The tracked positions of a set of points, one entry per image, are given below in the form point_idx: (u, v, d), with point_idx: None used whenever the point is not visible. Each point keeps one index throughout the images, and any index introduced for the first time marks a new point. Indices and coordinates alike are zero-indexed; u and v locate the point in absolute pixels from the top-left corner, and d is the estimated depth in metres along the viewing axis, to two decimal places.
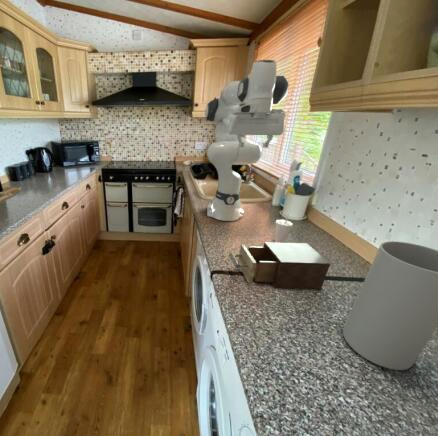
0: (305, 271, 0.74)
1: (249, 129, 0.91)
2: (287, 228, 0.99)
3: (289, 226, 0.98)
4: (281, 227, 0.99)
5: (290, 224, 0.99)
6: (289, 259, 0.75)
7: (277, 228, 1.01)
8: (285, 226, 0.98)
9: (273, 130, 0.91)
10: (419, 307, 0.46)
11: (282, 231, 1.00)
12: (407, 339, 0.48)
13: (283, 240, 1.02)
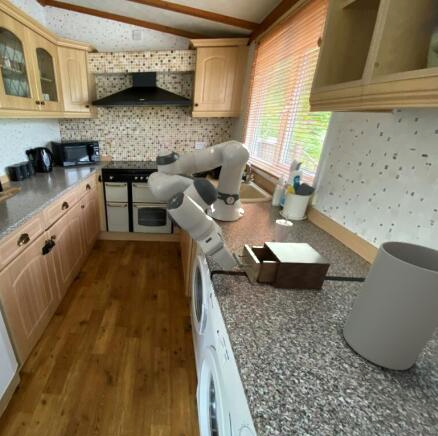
0: (305, 271, 0.74)
1: (228, 249, 0.76)
2: (287, 228, 0.99)
3: (289, 226, 0.98)
4: (281, 227, 0.99)
5: (290, 224, 0.99)
6: (289, 259, 0.75)
7: (277, 228, 1.01)
8: (285, 226, 0.98)
9: None
10: (419, 307, 0.46)
11: (282, 231, 1.00)
12: (407, 339, 0.48)
13: (283, 240, 1.02)
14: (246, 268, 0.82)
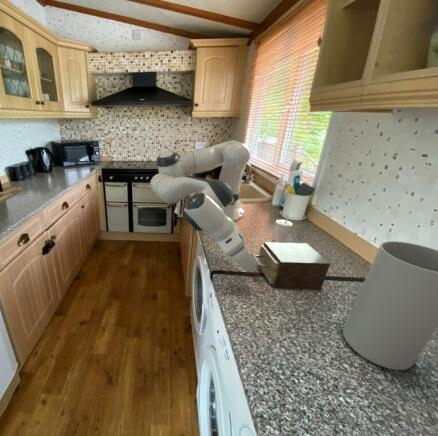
0: (305, 271, 0.74)
1: None
2: (287, 228, 0.99)
3: (289, 226, 0.98)
4: (281, 227, 0.99)
5: (290, 224, 0.99)
6: (289, 259, 0.75)
7: (277, 228, 1.01)
8: (285, 226, 0.98)
9: None
10: (419, 307, 0.46)
11: (282, 231, 1.00)
12: (407, 339, 0.48)
13: (283, 240, 1.02)
14: (263, 269, 0.82)
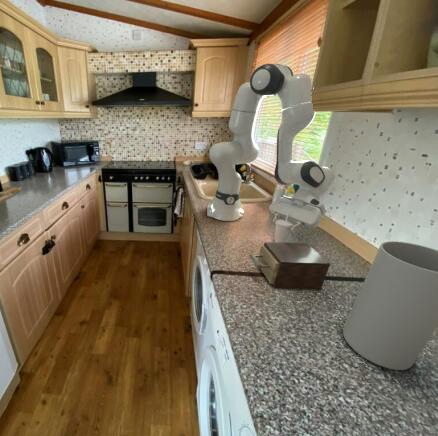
0: (305, 271, 0.74)
1: None
2: (287, 228, 0.99)
3: (289, 226, 0.98)
4: (281, 227, 0.99)
5: (290, 224, 0.99)
6: (289, 259, 0.75)
7: (277, 228, 1.01)
8: (285, 226, 0.98)
9: None
10: (419, 307, 0.46)
11: (282, 231, 1.00)
12: (407, 339, 0.48)
13: (283, 240, 1.02)
14: (263, 269, 0.82)
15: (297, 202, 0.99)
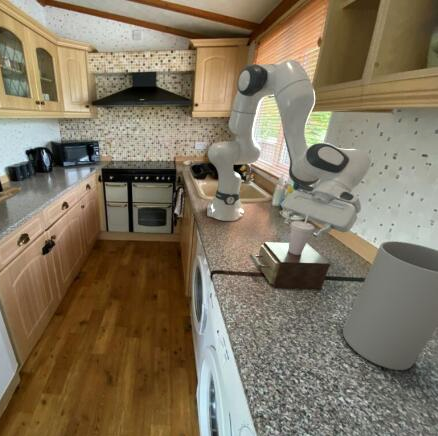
0: (305, 271, 0.74)
1: None
2: (307, 233, 0.73)
3: (310, 230, 0.73)
4: (299, 231, 0.74)
5: (311, 227, 0.73)
6: (289, 259, 0.75)
7: (293, 232, 0.76)
8: (304, 230, 0.73)
9: None
10: (419, 307, 0.46)
11: (300, 237, 0.74)
12: (407, 339, 0.48)
13: (301, 248, 0.76)
14: (263, 269, 0.82)
15: (321, 197, 0.74)
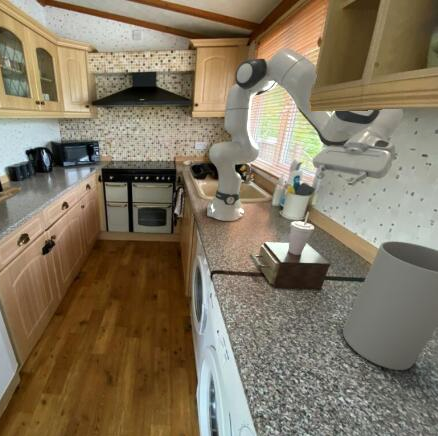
0: (305, 271, 0.74)
1: None
2: (307, 233, 0.73)
3: (310, 230, 0.73)
4: (299, 231, 0.74)
5: (311, 227, 0.73)
6: (289, 259, 0.75)
7: (293, 232, 0.76)
8: (304, 230, 0.73)
9: None
10: (419, 307, 0.46)
11: (300, 237, 0.74)
12: (407, 339, 0.48)
13: (301, 248, 0.76)
14: (263, 269, 0.82)
15: (354, 147, 0.76)
